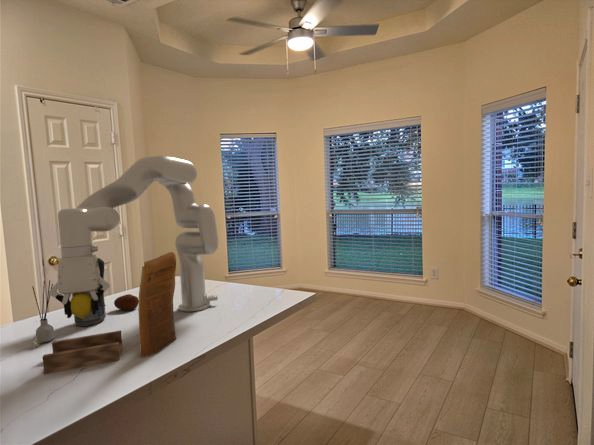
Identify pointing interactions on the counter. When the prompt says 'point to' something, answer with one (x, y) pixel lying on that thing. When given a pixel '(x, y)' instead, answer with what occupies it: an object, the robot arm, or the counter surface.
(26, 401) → the counter surface
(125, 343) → the counter surface
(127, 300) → the potato
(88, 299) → the lemon
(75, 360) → the u rest
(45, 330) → the reed diffuser
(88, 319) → the beverage bottle
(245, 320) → the counter surface
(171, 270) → the pancake mix bag
